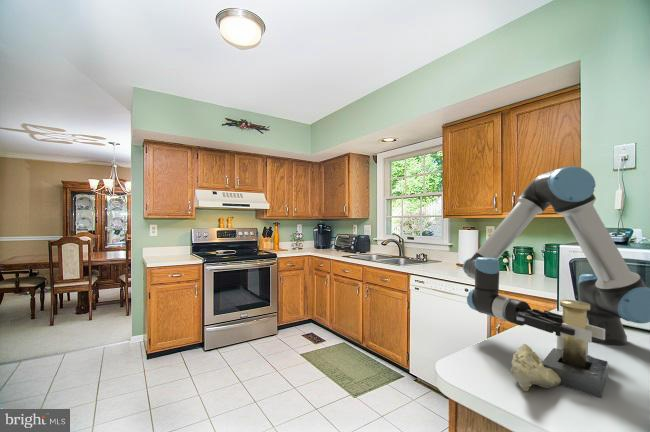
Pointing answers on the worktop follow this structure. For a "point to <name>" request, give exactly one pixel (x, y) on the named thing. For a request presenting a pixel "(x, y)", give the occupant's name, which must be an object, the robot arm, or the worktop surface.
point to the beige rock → (532, 370)
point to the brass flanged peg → (572, 346)
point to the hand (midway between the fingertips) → (597, 335)
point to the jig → (579, 373)
